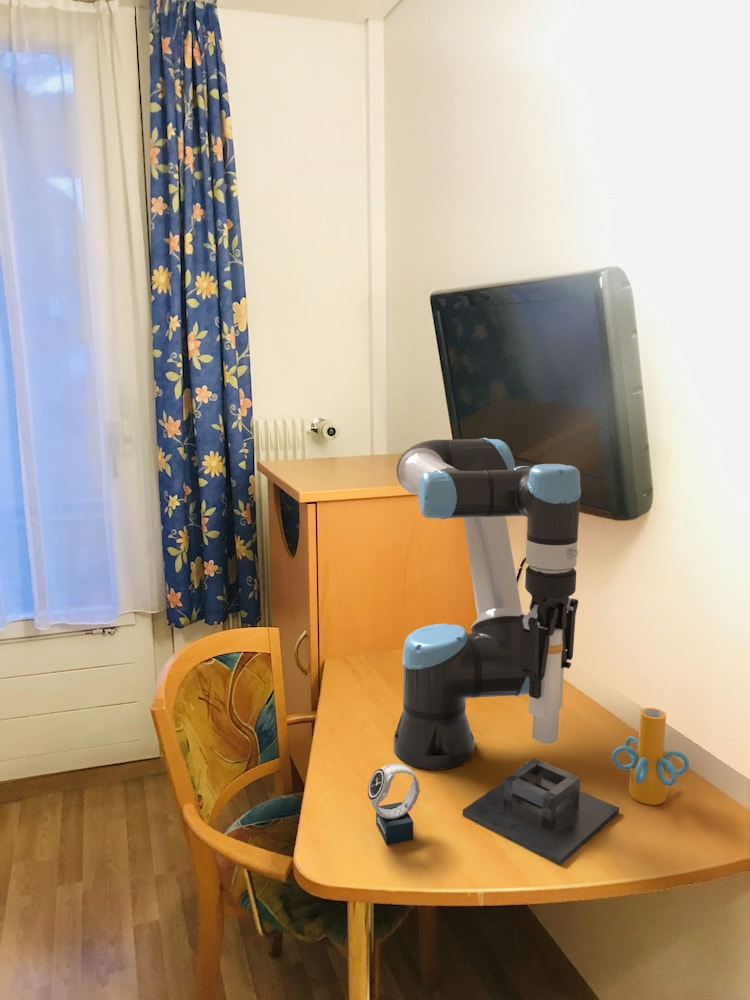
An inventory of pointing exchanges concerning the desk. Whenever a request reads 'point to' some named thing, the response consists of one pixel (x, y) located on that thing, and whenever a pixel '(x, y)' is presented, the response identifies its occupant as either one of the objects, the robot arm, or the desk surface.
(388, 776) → the watch
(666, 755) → the yellow ring vase
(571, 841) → the collar stand
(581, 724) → the desk surface
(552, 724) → the tube
